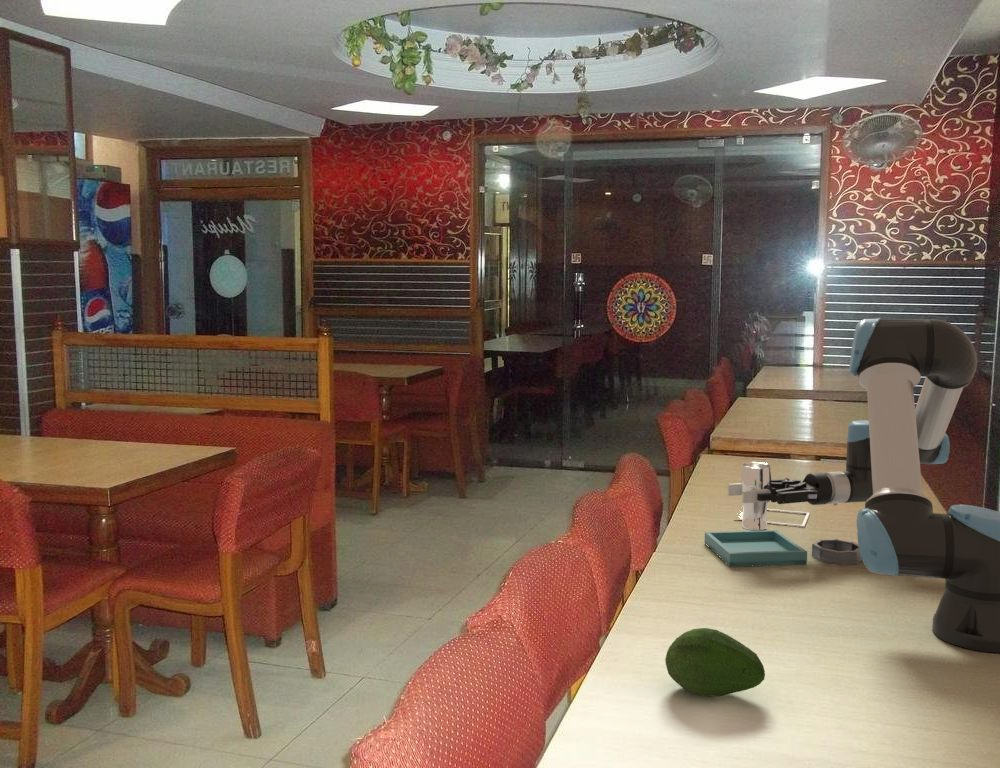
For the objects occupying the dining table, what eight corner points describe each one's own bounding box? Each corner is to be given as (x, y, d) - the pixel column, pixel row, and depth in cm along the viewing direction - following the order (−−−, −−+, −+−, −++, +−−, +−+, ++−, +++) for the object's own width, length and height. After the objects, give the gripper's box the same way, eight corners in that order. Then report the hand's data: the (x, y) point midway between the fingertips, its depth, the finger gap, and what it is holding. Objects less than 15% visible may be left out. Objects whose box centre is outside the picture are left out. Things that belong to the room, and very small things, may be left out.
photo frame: (742, 505, 262) (809, 512, 255) (742, 509, 262) (809, 516, 255) (733, 518, 249) (804, 525, 242) (733, 522, 249) (804, 529, 242)
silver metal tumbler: (736, 529, 217) (738, 466, 215) (743, 522, 223) (745, 460, 221) (766, 533, 214) (768, 469, 212) (772, 525, 220) (775, 463, 218)
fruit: (768, 690, 147) (770, 629, 146) (757, 716, 138) (760, 652, 137) (674, 672, 153) (675, 614, 152) (658, 697, 144) (659, 635, 143)
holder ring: (869, 564, 211) (869, 551, 211) (825, 565, 210) (825, 552, 210) (848, 551, 221) (848, 538, 221) (806, 552, 220) (806, 539, 220)
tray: (806, 564, 211) (807, 551, 211) (729, 566, 209) (729, 553, 209) (775, 542, 229) (776, 530, 228) (704, 544, 227) (704, 532, 227)
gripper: (848, 514, 212) (755, 520, 207) (802, 494, 231) (716, 499, 226) (849, 481, 211) (756, 487, 206) (803, 464, 230) (717, 468, 225)
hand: (735, 493), depth 216 cm, fingers closed on silver metal tumbler, 7 cm apart
